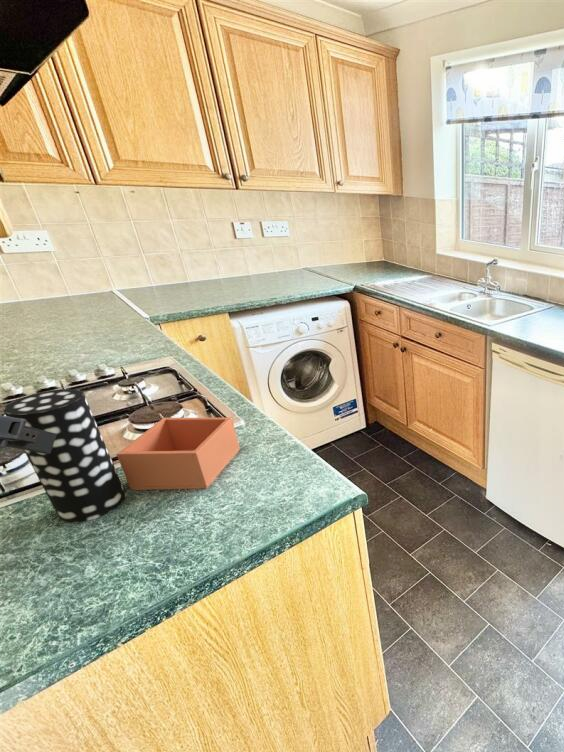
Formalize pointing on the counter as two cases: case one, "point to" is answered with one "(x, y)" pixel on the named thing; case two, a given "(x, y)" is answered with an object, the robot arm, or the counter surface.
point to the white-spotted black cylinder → (71, 455)
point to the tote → (179, 453)
